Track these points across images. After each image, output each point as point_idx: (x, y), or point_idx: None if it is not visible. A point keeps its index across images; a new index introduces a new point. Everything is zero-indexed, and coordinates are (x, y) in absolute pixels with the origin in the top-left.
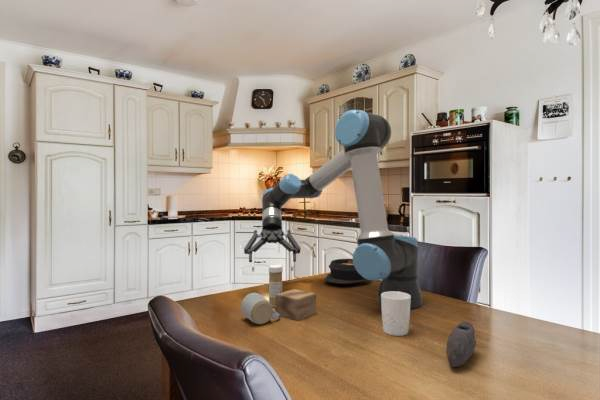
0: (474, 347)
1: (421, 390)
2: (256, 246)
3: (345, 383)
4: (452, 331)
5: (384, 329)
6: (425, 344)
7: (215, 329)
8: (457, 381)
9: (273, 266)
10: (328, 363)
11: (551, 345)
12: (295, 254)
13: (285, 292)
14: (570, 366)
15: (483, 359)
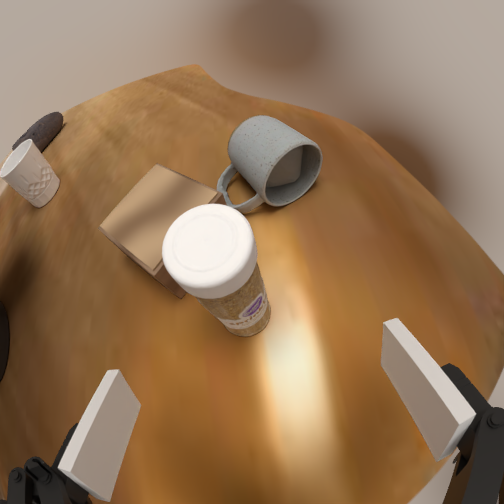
0: None
1: (103, 95)
2: (470, 490)
3: (153, 80)
4: (34, 127)
5: (57, 180)
6: None
7: (347, 135)
8: (73, 114)
9: (216, 218)
10: (157, 96)
11: None
12: (59, 454)
13: None
14: (2, 165)
15: None
